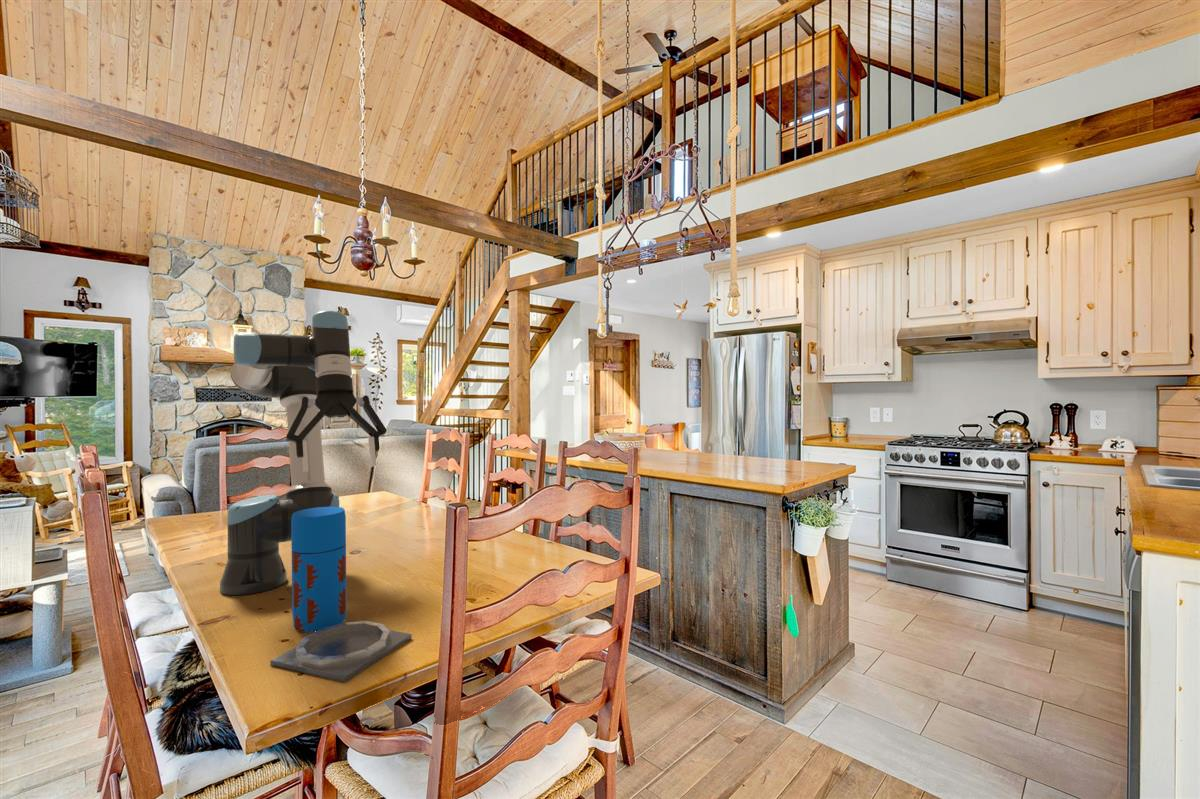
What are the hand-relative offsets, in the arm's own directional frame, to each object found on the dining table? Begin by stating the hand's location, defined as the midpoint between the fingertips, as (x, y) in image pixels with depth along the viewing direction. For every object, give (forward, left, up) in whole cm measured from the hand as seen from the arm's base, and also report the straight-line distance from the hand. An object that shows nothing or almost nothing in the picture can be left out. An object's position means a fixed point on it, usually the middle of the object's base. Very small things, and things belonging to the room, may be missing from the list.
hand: (340, 469), depth 119 cm
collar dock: (+10, -9, -35) cm, 37 cm away
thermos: (-6, 0, -35) cm, 36 cm away
